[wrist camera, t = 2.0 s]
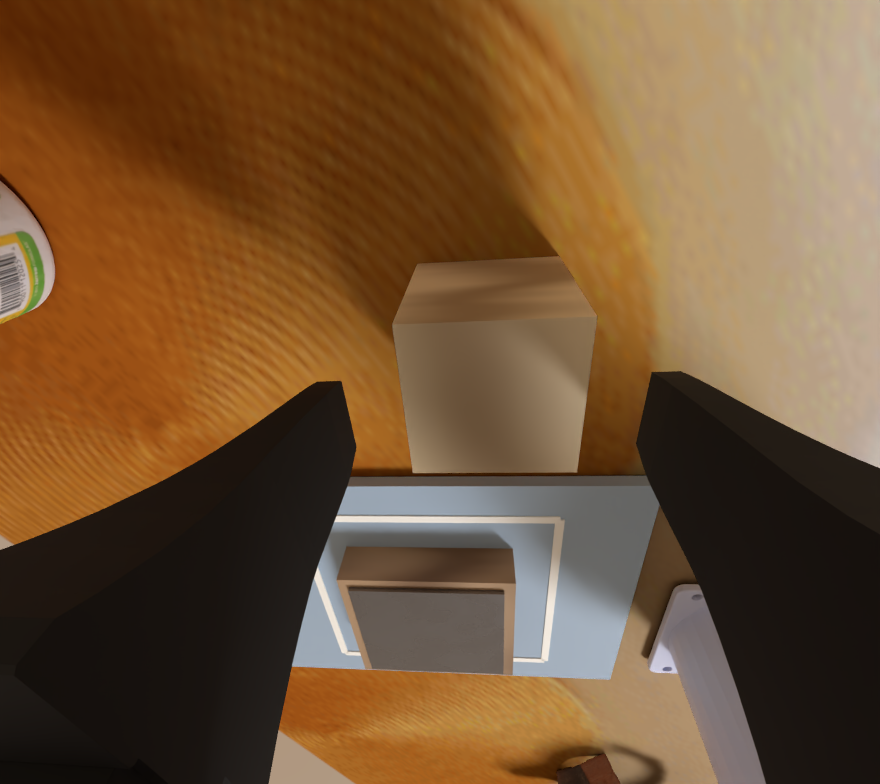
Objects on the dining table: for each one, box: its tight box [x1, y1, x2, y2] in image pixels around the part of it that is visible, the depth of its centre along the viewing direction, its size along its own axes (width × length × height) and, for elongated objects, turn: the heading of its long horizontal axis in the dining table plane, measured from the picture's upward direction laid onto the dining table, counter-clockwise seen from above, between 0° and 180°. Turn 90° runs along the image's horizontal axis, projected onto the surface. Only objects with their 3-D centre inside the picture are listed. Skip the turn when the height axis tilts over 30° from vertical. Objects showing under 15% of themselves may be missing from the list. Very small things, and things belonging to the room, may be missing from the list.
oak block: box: [392, 256, 597, 473], centre depth 13 cm, size 4×4×5 cm
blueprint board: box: [292, 476, 660, 680], centre depth 22 cm, size 20×16×3 cm
